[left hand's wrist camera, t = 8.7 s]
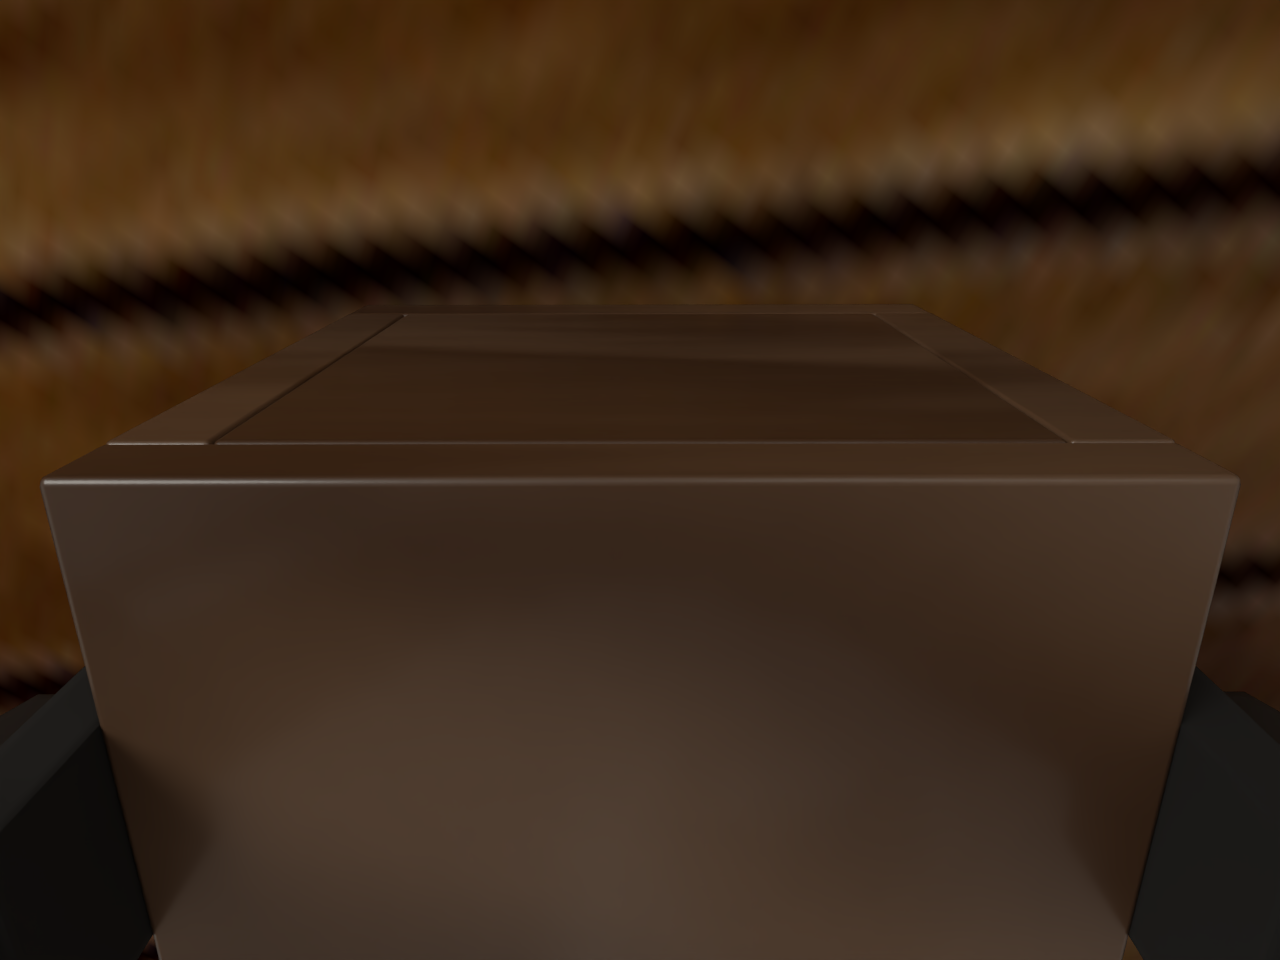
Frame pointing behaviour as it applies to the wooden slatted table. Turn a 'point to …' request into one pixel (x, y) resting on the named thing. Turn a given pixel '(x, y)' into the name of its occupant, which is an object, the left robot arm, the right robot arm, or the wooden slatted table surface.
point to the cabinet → (640, 640)
